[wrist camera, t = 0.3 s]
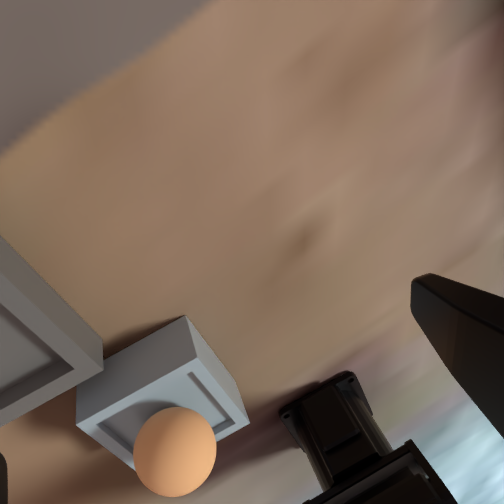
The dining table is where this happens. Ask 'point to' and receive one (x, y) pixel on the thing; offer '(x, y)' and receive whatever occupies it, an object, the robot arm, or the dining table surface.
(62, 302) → the tray
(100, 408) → the light blue storage bin
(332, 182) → the dining table surface
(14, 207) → the dining table surface
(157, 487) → the ball
